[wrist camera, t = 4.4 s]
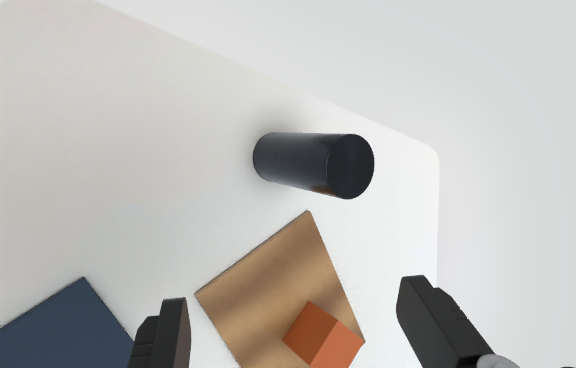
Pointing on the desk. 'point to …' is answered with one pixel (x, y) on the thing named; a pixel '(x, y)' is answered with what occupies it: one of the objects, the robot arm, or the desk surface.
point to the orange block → (322, 339)
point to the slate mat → (66, 334)
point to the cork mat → (275, 296)
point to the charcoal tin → (316, 162)
